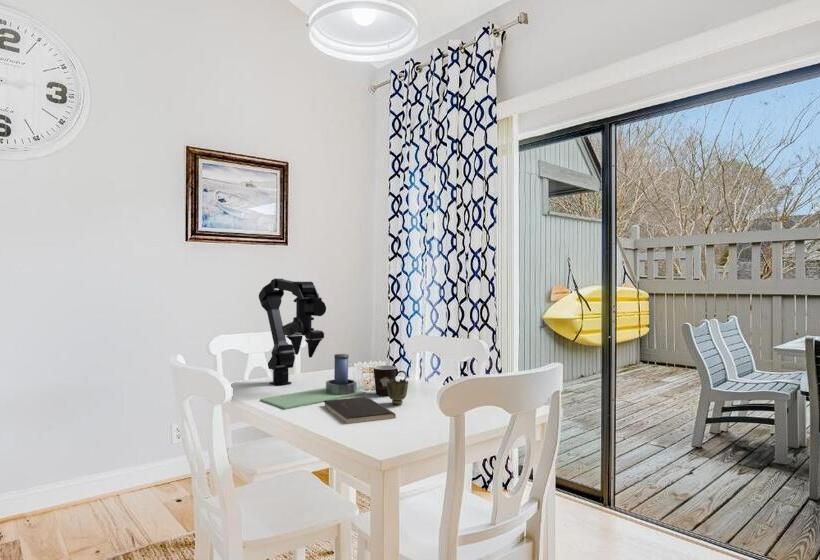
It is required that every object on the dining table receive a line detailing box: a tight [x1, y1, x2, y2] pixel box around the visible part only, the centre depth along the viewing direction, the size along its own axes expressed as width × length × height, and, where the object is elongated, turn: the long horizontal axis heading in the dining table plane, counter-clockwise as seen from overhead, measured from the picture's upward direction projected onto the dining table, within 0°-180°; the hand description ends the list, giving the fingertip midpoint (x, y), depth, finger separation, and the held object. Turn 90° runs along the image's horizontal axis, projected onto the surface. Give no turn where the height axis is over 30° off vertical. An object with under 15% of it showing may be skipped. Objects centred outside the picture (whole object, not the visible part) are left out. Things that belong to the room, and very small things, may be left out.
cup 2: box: [387, 378, 409, 406], centre depth 178 cm, size 8×7×8 cm
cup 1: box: [325, 378, 358, 395], centre depth 194 cm, size 11×11×4 cm
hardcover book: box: [322, 396, 397, 424], centre depth 168 cm, size 16×23×2 cm
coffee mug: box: [373, 364, 408, 398], centre depth 192 cm, size 12×9×10 cm
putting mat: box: [259, 387, 367, 410], centre depth 187 cm, size 16×34×1 cm, turn 135°
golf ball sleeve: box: [333, 353, 349, 385], centre depth 194 cm, size 5×5×13 cm
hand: (303, 355), depth 197 cm, fingers open, 9 cm apart
